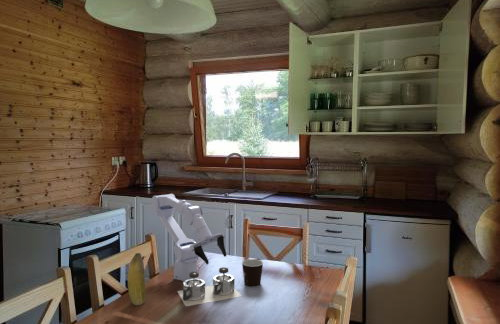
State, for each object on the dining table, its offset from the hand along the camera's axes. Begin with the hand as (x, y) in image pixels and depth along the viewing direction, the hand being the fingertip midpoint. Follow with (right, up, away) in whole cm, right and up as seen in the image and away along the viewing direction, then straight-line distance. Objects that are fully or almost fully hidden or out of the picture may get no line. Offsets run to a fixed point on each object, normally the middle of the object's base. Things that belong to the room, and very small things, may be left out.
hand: (216, 259), depth 147 cm
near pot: (-9, -14, -2) cm, 17 cm away
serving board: (-3, -15, +2) cm, 15 cm away
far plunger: (+2, -9, +3) cm, 10 cm away
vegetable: (-29, -16, -7) cm, 34 cm away
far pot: (+2, -14, +3) cm, 14 cm away
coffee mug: (+14, -14, +13) cm, 24 cm away
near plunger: (-9, -9, -1) cm, 13 cm away
